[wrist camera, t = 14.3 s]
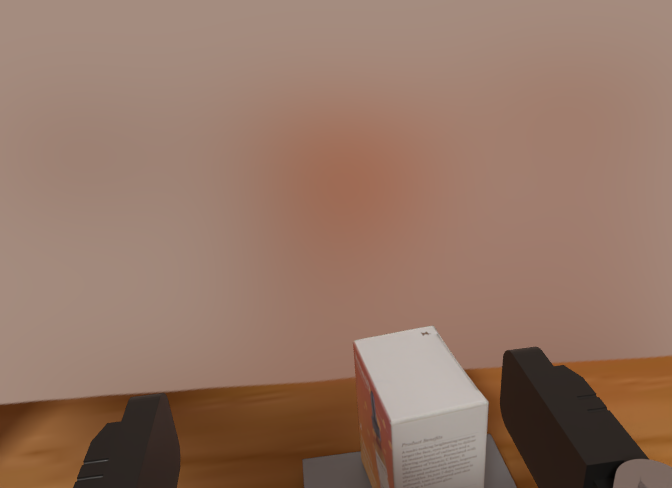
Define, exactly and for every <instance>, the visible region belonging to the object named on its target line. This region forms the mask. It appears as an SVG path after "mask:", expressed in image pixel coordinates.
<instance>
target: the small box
mask: <svg viewBox="0 0 672 488" xmlns="http://www.w3.org/2000/svg"><path fill="white" fill-rule="evenodd" d="M353 347H354V359H355V374H356V389H357V405H358V419H359V433H360V448H361V460H362V463H363V465H364V468H365V470H366V473H367V475H368V478H369V480H370V483H371V486H372V488H484V476H485V458H486V441H487V423H488V406H489V402H488V400H487V399H486V398H485V397H484V396H483V394H482V393H481V392H480V391H479V390H478V388H477V387H476V386H475V384H474V383H473V382H472V380H471V379H470V378H469V376H468V375H467V374H466V372H465V371H464V369H463V368H462V367H461V365H460V364H459V363H458V361H457V360H456V358H455V357H454V356H453V354H452V353H451V351H450V350H449V349H448V347H447V346H446V344H445V343H444V341H443V340H442V338H441V337H440V335H439V333H438V332H437V330H436V329H435V327H434V326H428V327H422V328H417V329H411V330H406V331H401V332H396V333H390V334H386V335H380V336H375V337H370V338H365V339H360V340H355V341H354V342H353Z"/></svg>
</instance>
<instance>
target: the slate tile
mask: <svg viewBox="0 0 672 488" xmlns="http://www.w3.org/2000/svg"><path fill="white" fill-rule="evenodd" d="M303 476H304V488H372V486H371V483H370V480H369V478H368V475H367V473H366V470H365V468H364V465H363V463H362V460H361V451H360V452H352V453H345V454H338V455H330V456H323V457H316V458H308V459H303ZM484 488H517V487H516V485H515V483H514V481H513V479H512V477H511V475H510V473H509V471H508V469H507V467H506V465H505V463H504V461H503V459H502V457H501V454H500V452H499V450H498V448H497V446H496V444H495V442H494V440H493V438H492V436H491V434H487V441H486V458H485V476H484Z"/></svg>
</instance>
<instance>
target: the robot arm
mask: <svg viewBox="0 0 672 488" xmlns="http://www.w3.org/2000/svg"><path fill="white" fill-rule="evenodd" d="M500 408H501V414H502V418H503V421H504V424H505V426H506V428H507V430H508V432H509V434H510V436H511V437H512V439H513V441H514V443H515V445H516V447H517V449H518V450H519V452H520V454H521V456H522V458H523V460H524V461H525V463H526V465H527V467H528V469H529V471H530V473H531V474H532V476H533V478H534V480H535V482H536V484H537V485H538V487H539V488H672V467H670V466H668V465H666V464H663V463H660V462H657V461H653V460H649V459H648V457H647V456H646V455H645V454H644V452H643V451H642V450H641V449H640V448H639V446H638V445H637V444H636V443H635V441H634V440H633V439H632V438H631V436H630V435H629V434H628V433H627V431H626V430H625V429H624V428H623V427H622V425H621V424H620V423H619V422H618V420H617V419H616V418H615V417H614V415H613V414H612V413H611V412H610V410H609V411H608V410H607V407H606V406H605V404H604V403H603V402H602V401H601V399H600V398H599V397H597V396H596V393H595V392H594V391H593V389H592V388H591V387H590V386H589V384H588V383H587V382H586V381H585V380H584V378H583V377H581V376H579V375H578V374H576V373H575V372H573V371H572V370H570V369H569V368H567V367H566V366H564V365H560V366H553V365H552V363H551V362H550V361H549V360H548V358H547V357H546V356H545V354H544V353H543V352H542V350H541V349H540V348H538V347H530V348H522V349H514V350H507V351H505V353H504V356H503V366H502V380H501V394H500ZM83 462H84V465H82V467H81V469H80V472H79V474H78V477H77V482H75V484H74V487H73V488H177V482H178V477H179V471H180V446H179V441H178V437H177V433H176V429H175V425H174V421H173V417H172V414H171V410H170V406H169V402H168V398H167V396H166V394H165V393H160V394H152V395H144V396H136V397H131V398H130V399H129V401H128V404H127V407H126V410H125V412H124V415H123V418H122V421H121V422H114V423H107V424H106V426H105V427H104V428H103V429H102V430H101V431H100V432H99V433H98V435H97V436H96V437H95V438H94V439H93V440H92V441H91V444H90V446H89V449H88V451H87V454H86V456H85V459H84V461H83Z"/></svg>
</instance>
